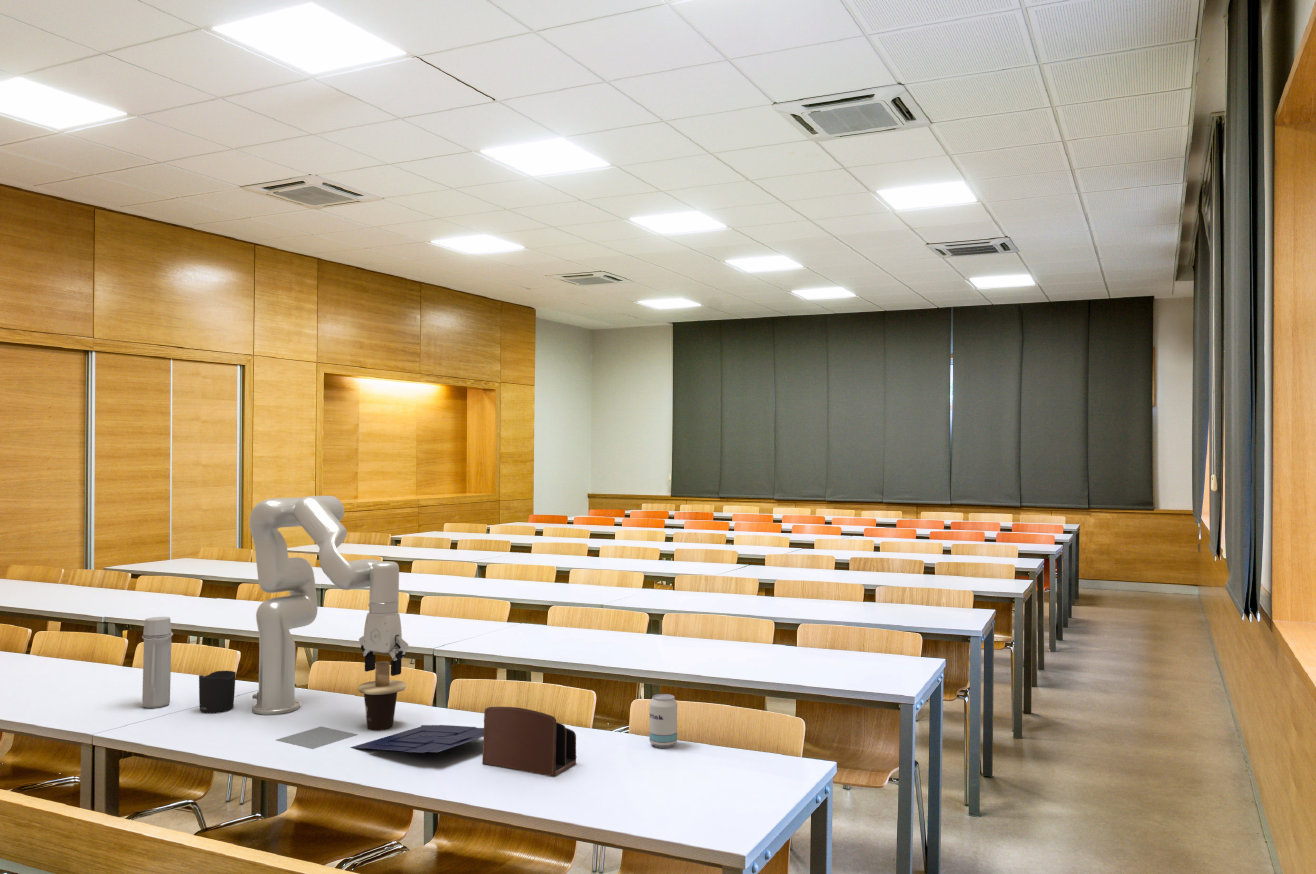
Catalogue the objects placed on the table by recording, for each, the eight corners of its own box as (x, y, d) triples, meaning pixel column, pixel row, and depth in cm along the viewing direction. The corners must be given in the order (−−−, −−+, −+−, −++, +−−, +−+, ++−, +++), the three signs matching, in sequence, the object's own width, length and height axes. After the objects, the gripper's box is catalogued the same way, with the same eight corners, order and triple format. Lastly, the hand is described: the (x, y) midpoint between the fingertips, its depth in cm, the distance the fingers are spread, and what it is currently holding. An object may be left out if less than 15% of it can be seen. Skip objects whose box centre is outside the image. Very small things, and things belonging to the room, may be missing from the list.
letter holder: (554, 777, 202) (554, 714, 203) (481, 765, 211) (482, 703, 211) (576, 764, 211) (577, 703, 212) (506, 753, 220) (507, 694, 220)
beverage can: (643, 745, 226) (644, 696, 227) (663, 739, 231) (663, 691, 232) (663, 751, 221) (663, 701, 222) (682, 745, 226) (682, 696, 227)
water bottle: (143, 703, 263) (146, 617, 264) (173, 701, 265) (175, 615, 266) (135, 711, 254) (138, 622, 255) (167, 709, 257) (169, 621, 257)
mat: (275, 741, 227) (275, 739, 227) (320, 727, 239) (320, 726, 239) (312, 750, 220) (312, 748, 220) (357, 736, 232) (357, 734, 232)
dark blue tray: (431, 766, 205) (430, 750, 206) (347, 759, 222) (346, 743, 222) (506, 740, 225) (505, 725, 226) (424, 735, 242) (423, 721, 242)
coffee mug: (391, 733, 235) (391, 694, 235) (358, 733, 235) (358, 694, 235) (404, 721, 246) (405, 684, 247) (373, 720, 247) (373, 683, 247)
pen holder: (198, 707, 259) (199, 672, 259) (234, 704, 263) (235, 669, 263) (197, 715, 251) (198, 679, 251) (234, 712, 255) (235, 676, 255)
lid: (348, 690, 239) (349, 664, 239) (383, 681, 249) (383, 656, 250) (381, 696, 233) (381, 669, 233) (415, 687, 243) (415, 661, 244)
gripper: (350, 607, 243) (349, 671, 242) (396, 612, 234) (395, 679, 234) (371, 603, 249) (370, 666, 249) (417, 609, 241) (416, 673, 240)
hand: (382, 672), depth 241 cm, fingers open, 9 cm apart
